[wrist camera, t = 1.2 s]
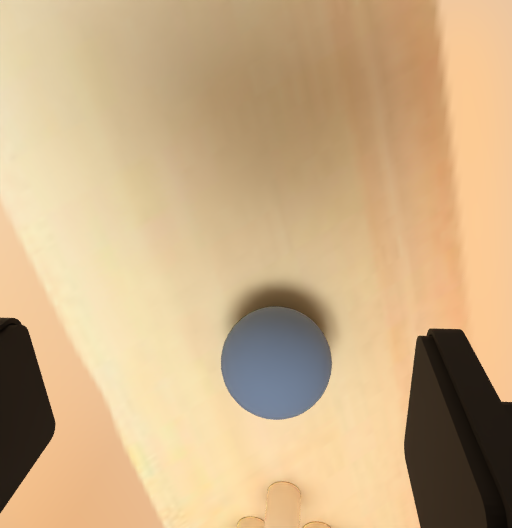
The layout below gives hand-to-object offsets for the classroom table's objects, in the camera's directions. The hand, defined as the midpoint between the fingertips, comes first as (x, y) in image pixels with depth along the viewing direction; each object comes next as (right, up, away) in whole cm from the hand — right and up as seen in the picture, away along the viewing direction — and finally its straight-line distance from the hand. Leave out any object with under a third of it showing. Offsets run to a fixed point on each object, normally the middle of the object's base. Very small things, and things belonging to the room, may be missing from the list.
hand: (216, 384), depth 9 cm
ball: (+2, -3, +15) cm, 16 cm away
